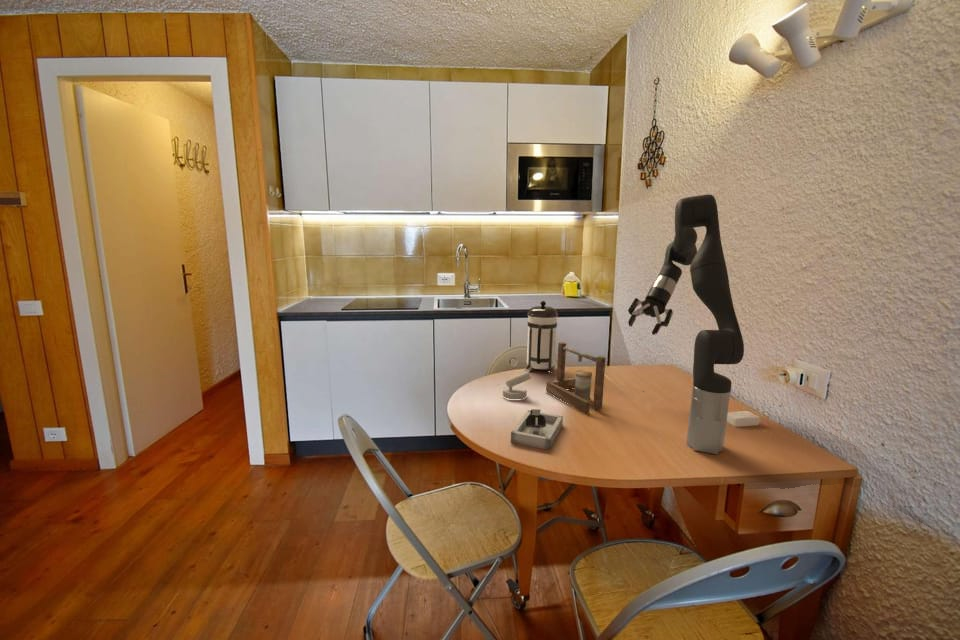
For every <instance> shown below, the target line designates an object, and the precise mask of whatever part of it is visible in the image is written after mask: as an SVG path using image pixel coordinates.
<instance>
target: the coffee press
mask: <svg viewBox="0 0 960 640" xmlns="http://www.w3.org/2000/svg"><path fill="white" fill-rule="evenodd" d="M546 305H547V303H546V301H545V300H541V302H540V306H539V305H538V306H537V305H536V306H532V307H530V309H529V311H527V317H528V318H527V346H526V350H527V351H526V364H527V367H526V368H525V370H526V369H528V370H529V369H531V370H533V369H535V370H546V371H547V372H548V371H550V374H552V373H551V372H554V370H553V369H552V368H554V367H555V362H556V343H557V342H556V340H557V328H558V316H559V313H558V312H557V309H555V308H554V307H551V306H546Z"/></svg>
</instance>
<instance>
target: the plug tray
mask: <svg viewBox="0 0 960 640" xmlns="http://www.w3.org/2000/svg"><path fill="white" fill-rule="evenodd" d="M530 412H531V409H530V410H527V411H526V413H525V414H524V415H523V416H522V418H520V419H519V422H518V423H517V424H516V425H515V427H514V428H513V429H512V431H510V443H514V444H519V445H523V446H529V447H532V448H533V447H534V448H539V449H543V450H544V449H545V450H550V448H551V447H552V445H553V444H554V441H555V439H556V438H557V436H558V434H559V432H560V430H561V429H562V427H563V420H564V419H563V417H564V416H563V415H558V414H553V413H546V412H542V411H540V414H541V415H542V416H544V417H545V420H546V427H544V428H542V436H539V428H533V434H530V428H529V427H527V426H526V419H527V417H528V416H530V415H531V413H530Z"/></svg>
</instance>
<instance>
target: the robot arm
mask: <svg viewBox="0 0 960 640" xmlns="http://www.w3.org/2000/svg"><path fill="white" fill-rule="evenodd" d="M719 219H720V218H719V211H718V204H717V200H716V198H715V196H714V195H713V194H701V195H695V196H689V197H688V196H687V197H683V198H680V199H679V200H677V201H676V204H675V209H674V238H673V241H672V242H670V243H669V244H668V245H667V246H666V250H665V253H664V254H665V256H664V261H663V264H662V267H661V270H660V272H659V273H658V275H657V276H656V278H655V279H654V282H652V284H651V286H650V288H649V290H648V292H647V295H646V296H645V298H644V300H640V299H639V298H638V297H637V298H634V300H633V302H632V303H631V305H630V306H629V308H628V310H627V311H628V314H629V315H631V316H630V317H629V319H628V322H627V323H628V326H629V327H633V325H634V323H635V321H636V319H637V317H639V316H642V315H645V316H649V317H650V318H653V319H654V318H655V319H656V322H657V323H655V325H654V326H653V329H652V331H651V335H653V336H655V335H658V333H659V331H660V329H661V328H662V327H665V328H666V327H668V326H669V324H670V321H671V319H672V316H673V315H674V312H673V309H671V308H670V309H667V308H666V307H667V305H668V303H669V301H670V300H671V298H672V295H673V293H674V292H675V289H676V287H677V284H678V282H679V280H680V279H681V276H682V274H683V271H682V268H681V267H679V266H678V265H677V264H680V265H682V266H689V272H690V277H691V278H690V279H691V284H692V285H691V286H692V289H693V292H694V293H695V295H696V296H697V297H698V298H699V300H700V301H701V302H702V303H703V304H704V305H705V306H706V308H707V309H708V310H709V311H710V312H711V315H713V318H714V319H715V322H716V324H717V328H718V329H703V330H700V331H699V332H698V333H697V335H696V337H695V340H694V346H693V347H694V348H693V363H692V364H693V365H692V375H693V376H692V378H693V382H692V383H693V384H692V389H691V390H692V391H691V399H690V406H689V414H688V415H689V416H688V424H687V425H688V426H687V432H686V433H687V435H686V444H687V445H688V446H689V448H692V450H693V451H697V452H702V453H707V454H713V455H719V454H720V453H721V452H723V450H724V443H725V435H726V428H727V423H728V422H727V414H728V412H729V407H730V406H729V405H730V399H731V394H732V393H731V390H732V381H731V379H730V378H729V377H727V376H726V375H723V374H720V373H718V372H715V365H738V364H739V363H741V361H742V360H743V359H744V354H745V345H744V339H743V335H742V331H741V328H740V324H739V321H738V318H737V317H738V316H737V314H736V311H735V306H734V302H733V298H732V292H731V287H730V280H729V274H728V268H727V267H728V266H727V265H726V259H725V254H724V250H723V249H724V248H723V245H722V237H721V230H720V220H719ZM702 227H705V230H706V231H705V236H704V238H703V239H702V243H701V245H700V247H699V249H697V240H698V234H697V231H696V230H695V228H702ZM675 263H677V264H675ZM640 305H641V306H640ZM639 306H640V307H639ZM637 307H639V308H637ZM664 313H665V318H664V320H663V321H662V319H661V317H660V315H662V314H664Z"/></svg>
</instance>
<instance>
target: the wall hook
mask: <svg viewBox="0 0 960 640" xmlns="http://www.w3.org/2000/svg"><path fill="white" fill-rule="evenodd" d="M529 380H532V377H531V376H530V372H528V371H526V370H525V371H524V372H522V373H519V374H517V375H514V376H512V377H510V378H508V379H507V380H506V381H505V384H506V386H505V387H503V389H502V397H503V396H504V397H506V398H509V399H523V398H525V397H526V396H527V394H528V393H527V392H528V391H527V388H525V387H523V386H522V385H521V386H520V385H519V384H521V383H524V382H527V381H529ZM504 397H503V398H504ZM526 398H527V397H526Z"/></svg>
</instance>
